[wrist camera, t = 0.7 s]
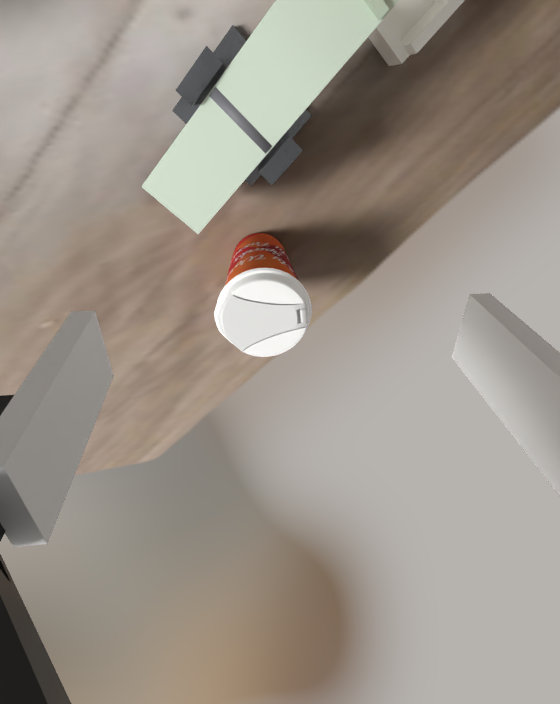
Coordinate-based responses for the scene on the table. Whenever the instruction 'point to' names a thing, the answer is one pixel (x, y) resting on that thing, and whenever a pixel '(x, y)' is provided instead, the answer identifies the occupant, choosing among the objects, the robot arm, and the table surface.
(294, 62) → the lever
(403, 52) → the white square tray
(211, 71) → the stand
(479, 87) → the table surface
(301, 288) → the paper cup
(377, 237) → the table surface
